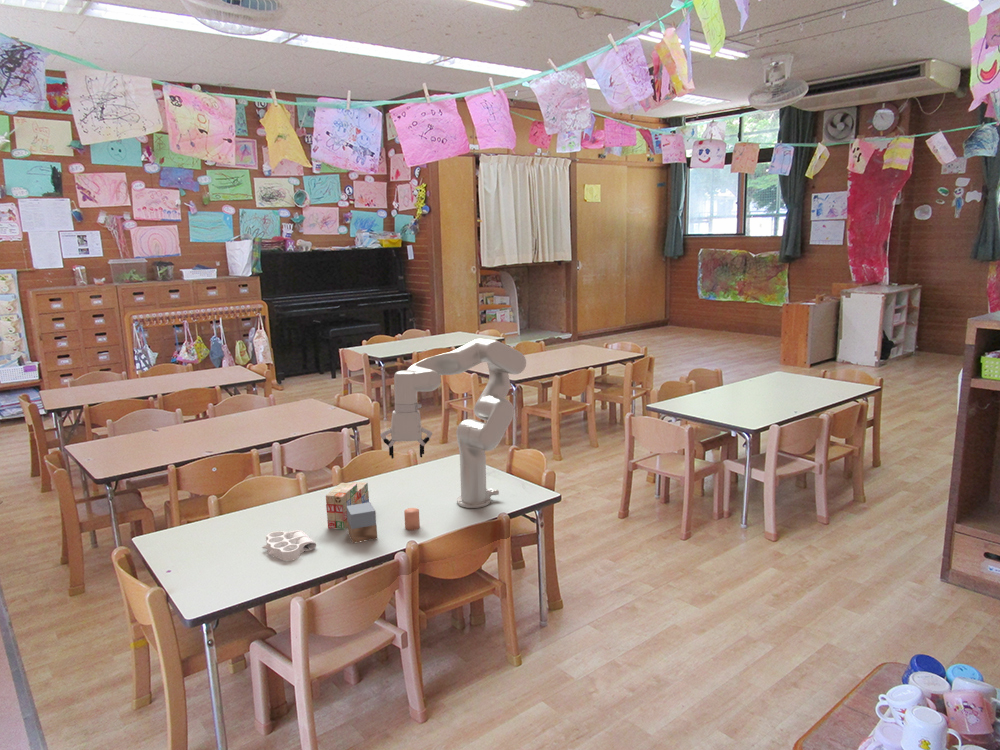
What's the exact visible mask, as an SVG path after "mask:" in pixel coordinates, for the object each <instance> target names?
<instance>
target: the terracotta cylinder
mask: <svg viewBox="0 0 1000 750" xmlns="http://www.w3.org/2000/svg"><path fill="white" fill-rule="evenodd" d="M420 527H421V525H420V509H419V508H418V507H407V508H406V509H404V528H405V529H406V530H407V531H416V530H418V529H420Z"/></svg>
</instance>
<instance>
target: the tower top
mask: <svg viewBox="0 0 1000 750" xmlns="http://www.w3.org/2000/svg"><path fill="white" fill-rule="evenodd" d="M346 508H347V520H348V523H349V525H350V527H351V529H356V528H361V527H367V526H373V525H377V518H376V516H377V515H376V514H377V513H376V510H375V508H374V506H373V505H372V502H370V501H369V502H368V503H362V504H356V505H350V506H346Z"/></svg>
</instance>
